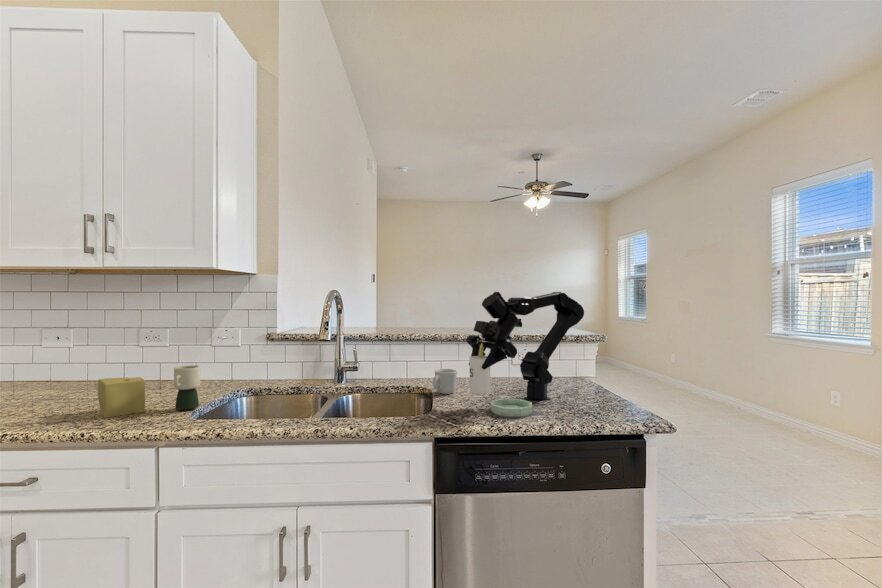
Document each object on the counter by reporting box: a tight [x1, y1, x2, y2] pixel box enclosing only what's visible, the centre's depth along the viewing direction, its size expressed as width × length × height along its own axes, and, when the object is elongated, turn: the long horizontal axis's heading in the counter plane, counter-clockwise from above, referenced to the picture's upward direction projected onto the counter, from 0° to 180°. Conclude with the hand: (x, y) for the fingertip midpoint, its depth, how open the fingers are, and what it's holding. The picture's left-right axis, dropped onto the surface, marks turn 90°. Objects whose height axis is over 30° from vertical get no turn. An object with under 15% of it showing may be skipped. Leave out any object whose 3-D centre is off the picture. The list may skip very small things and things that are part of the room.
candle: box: [469, 343, 491, 395], centre depth 135 cm, size 6×6×15 cm
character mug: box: [173, 364, 201, 411], centre depth 136 cm, size 11×7×13 cm, turn 176°
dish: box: [490, 398, 534, 418], centre depth 132 cm, size 12×12×2 cm
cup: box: [432, 368, 458, 395], centre depth 158 cm, size 11×8×8 cm
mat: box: [480, 408, 544, 422], centre depth 132 cm, size 13×13×1 cm
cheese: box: [97, 376, 146, 419], centre depth 133 cm, size 10×11×10 cm
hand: (476, 367), depth 134 cm, fingers closed on candle, 6 cm apart
